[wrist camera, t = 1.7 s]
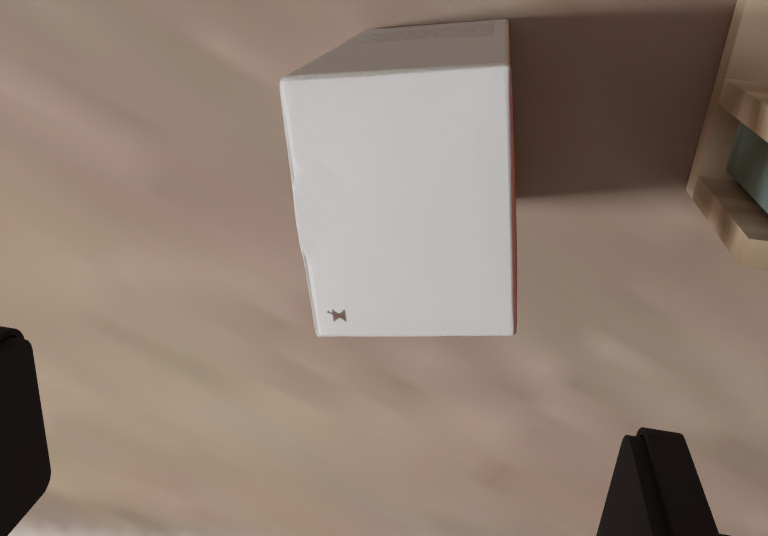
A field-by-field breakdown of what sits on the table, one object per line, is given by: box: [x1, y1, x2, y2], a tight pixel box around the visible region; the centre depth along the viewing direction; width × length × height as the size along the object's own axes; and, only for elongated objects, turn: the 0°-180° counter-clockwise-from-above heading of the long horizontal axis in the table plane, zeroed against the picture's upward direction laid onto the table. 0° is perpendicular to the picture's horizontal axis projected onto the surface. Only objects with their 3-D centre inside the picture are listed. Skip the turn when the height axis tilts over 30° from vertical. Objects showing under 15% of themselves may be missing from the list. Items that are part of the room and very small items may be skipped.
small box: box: [280, 19, 517, 337], centre depth 26 cm, size 8×6×13 cm
